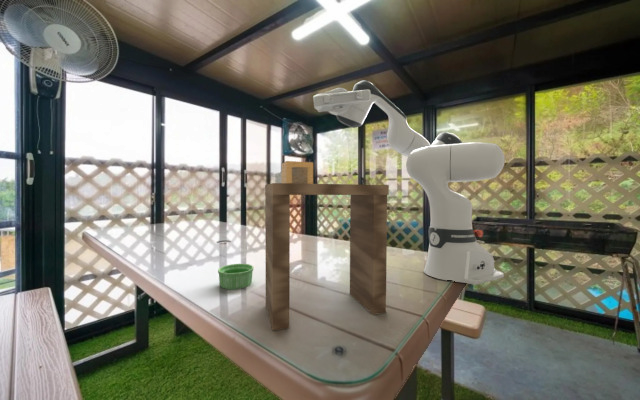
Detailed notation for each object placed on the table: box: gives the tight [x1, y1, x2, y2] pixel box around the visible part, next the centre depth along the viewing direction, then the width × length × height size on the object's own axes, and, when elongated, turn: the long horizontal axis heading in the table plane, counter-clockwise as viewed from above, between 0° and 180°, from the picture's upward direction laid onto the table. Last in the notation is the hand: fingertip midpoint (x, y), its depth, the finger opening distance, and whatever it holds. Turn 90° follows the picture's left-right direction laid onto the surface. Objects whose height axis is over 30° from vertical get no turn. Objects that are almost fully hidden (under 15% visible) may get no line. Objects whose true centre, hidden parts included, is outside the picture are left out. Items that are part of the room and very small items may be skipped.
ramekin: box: [217, 263, 254, 290], centre depth 69 cm, size 9×9×4 cm
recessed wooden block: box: [274, 160, 314, 184], centre depth 56 cm, size 5×20×4 cm, turn 18°
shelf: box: [264, 182, 390, 332], centre depth 54 cm, size 23×12×26 cm, turn 108°
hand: (344, 96), depth 84 cm, fingers open, 8 cm apart
